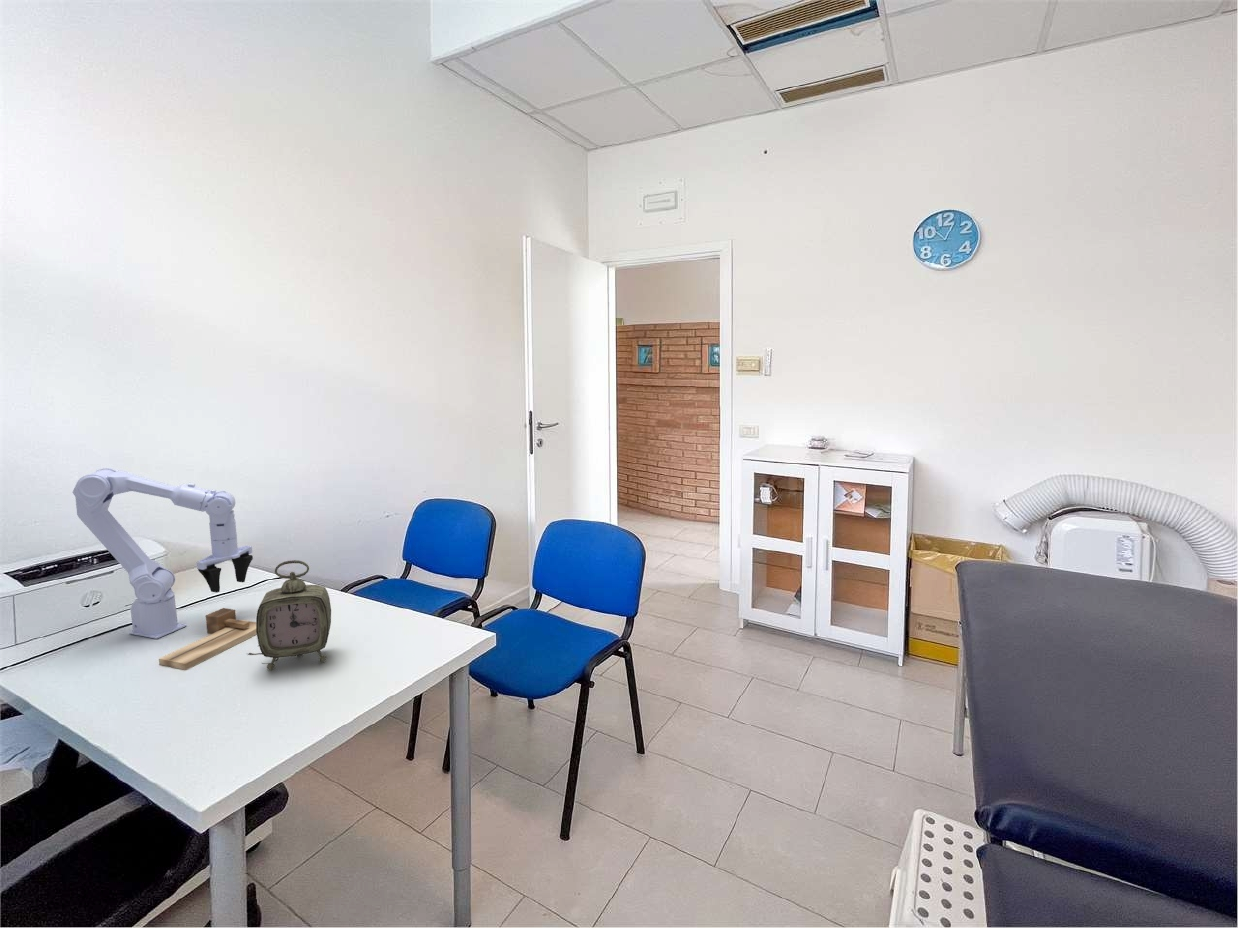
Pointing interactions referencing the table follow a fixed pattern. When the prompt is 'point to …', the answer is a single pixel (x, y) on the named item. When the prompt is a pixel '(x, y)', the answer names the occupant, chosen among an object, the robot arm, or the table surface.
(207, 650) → the board
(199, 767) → the table surface
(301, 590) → the tabletop clock
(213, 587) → the robot arm
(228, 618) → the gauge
